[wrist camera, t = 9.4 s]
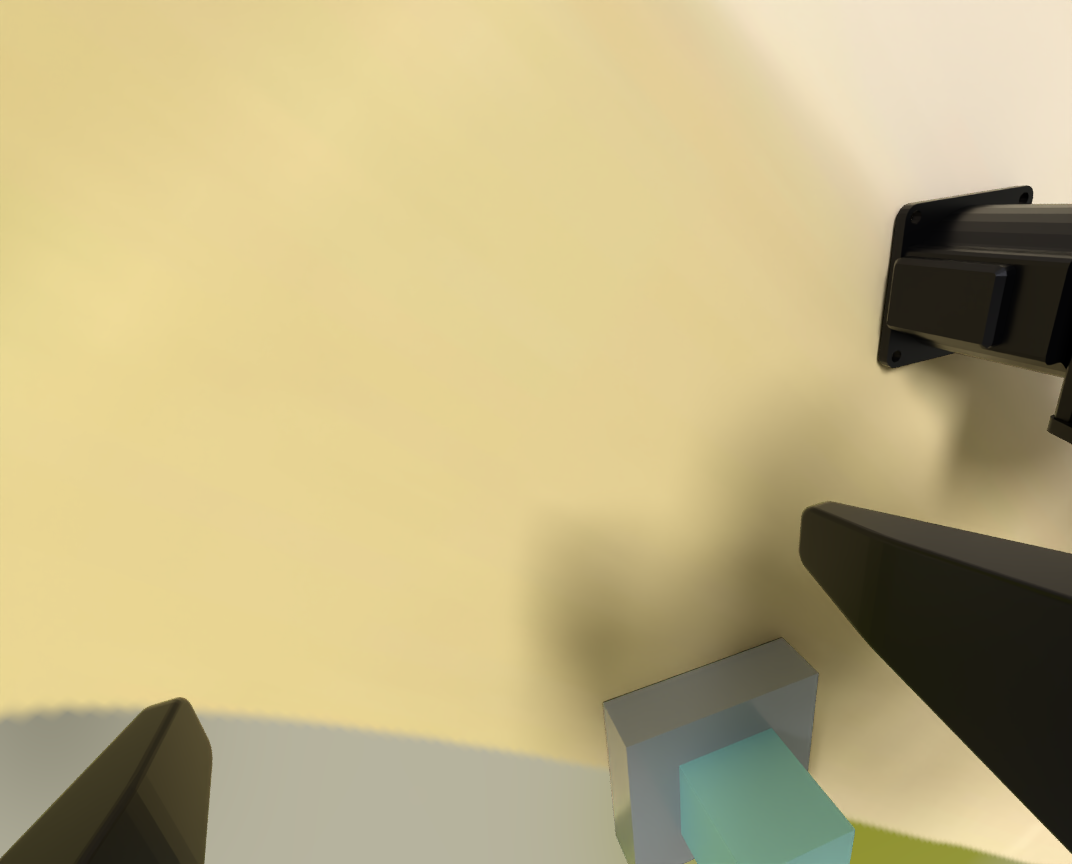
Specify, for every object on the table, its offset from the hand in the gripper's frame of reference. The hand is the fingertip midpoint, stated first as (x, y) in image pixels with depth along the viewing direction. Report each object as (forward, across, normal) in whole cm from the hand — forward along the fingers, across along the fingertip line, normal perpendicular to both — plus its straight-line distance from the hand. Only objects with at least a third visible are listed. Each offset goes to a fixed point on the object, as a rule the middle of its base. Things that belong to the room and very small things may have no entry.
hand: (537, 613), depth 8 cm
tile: (+12, -10, +22) cm, 27 cm away
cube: (+10, -10, +22) cm, 26 cm away
